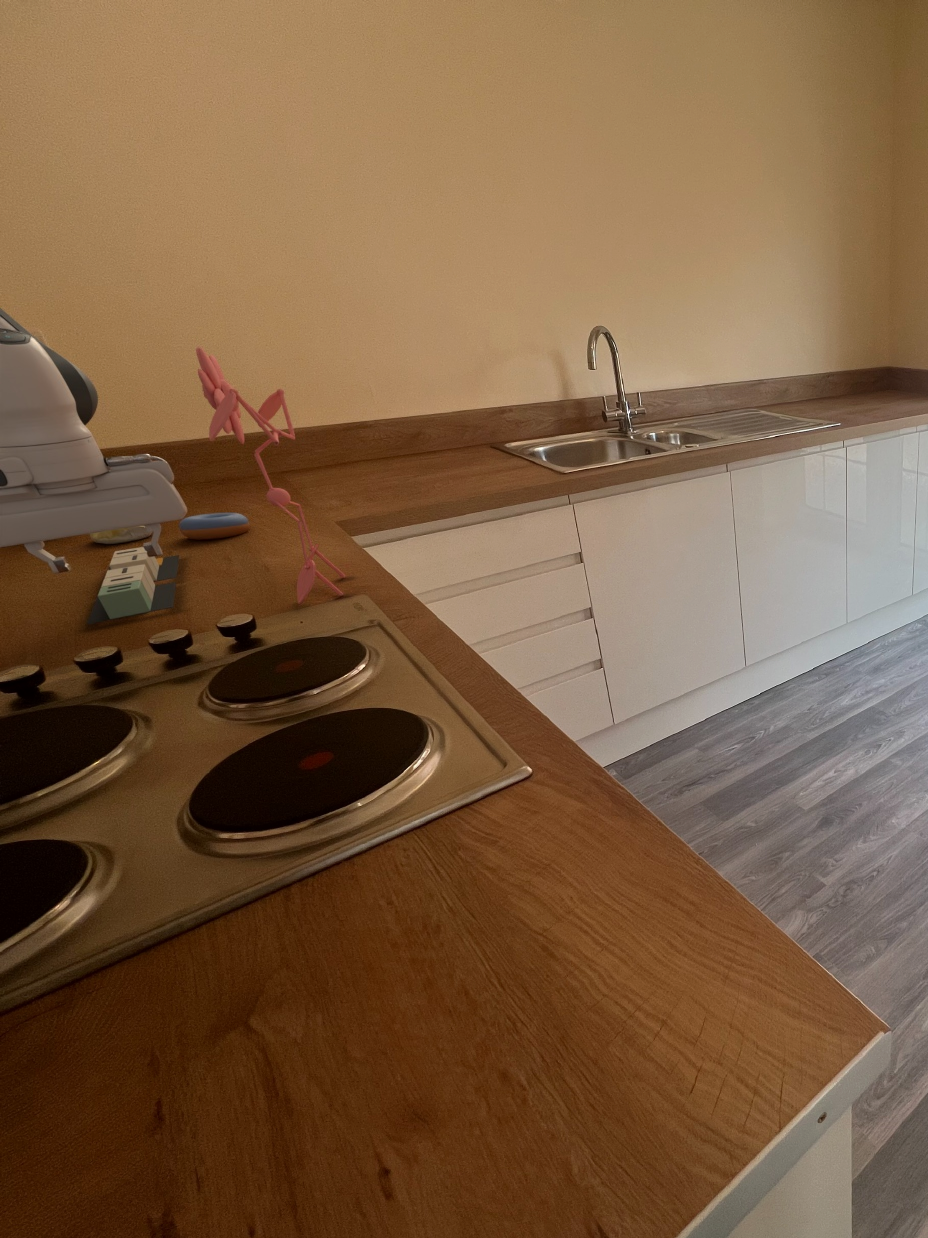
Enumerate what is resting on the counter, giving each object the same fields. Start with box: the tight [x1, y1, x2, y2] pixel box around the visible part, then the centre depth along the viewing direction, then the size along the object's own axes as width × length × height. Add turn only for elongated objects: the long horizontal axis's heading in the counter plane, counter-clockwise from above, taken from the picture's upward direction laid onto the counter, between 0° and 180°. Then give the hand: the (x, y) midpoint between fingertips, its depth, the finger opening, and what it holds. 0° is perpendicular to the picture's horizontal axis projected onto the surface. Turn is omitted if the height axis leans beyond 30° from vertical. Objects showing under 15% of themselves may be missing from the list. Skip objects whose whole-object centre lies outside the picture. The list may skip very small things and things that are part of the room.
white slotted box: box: [100, 572, 154, 602], centre depth 102 cm, size 4×4×4 cm
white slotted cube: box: [104, 564, 156, 593], centre depth 105 cm, size 4×4×4 cm
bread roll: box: [89, 525, 153, 545], centre depth 132 cm, size 8×9×4 cm
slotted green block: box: [97, 581, 152, 620], centre depth 99 cm, size 4×4×4 cm
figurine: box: [195, 346, 353, 604], centre depth 98 cm, size 15×26×35 cm, turn 32°
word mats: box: [85, 554, 180, 625], centre depth 109 cm, size 9×31×1 cm, turn 40°
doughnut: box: [178, 512, 250, 541], centre depth 132 cm, size 10×10×5 cm
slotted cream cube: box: [108, 553, 158, 582], centre depth 110 cm, size 4×4×4 cm
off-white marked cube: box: [112, 546, 159, 573], centre depth 113 cm, size 4×4×4 cm
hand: (110, 563), depth 97 cm, fingers open, 8 cm apart
